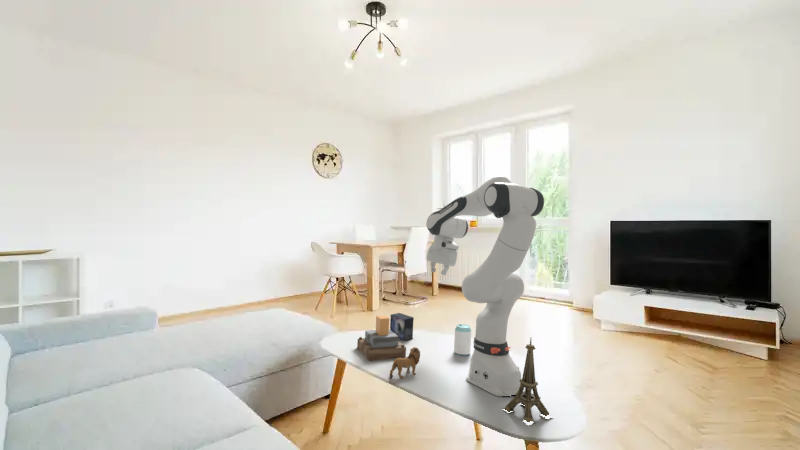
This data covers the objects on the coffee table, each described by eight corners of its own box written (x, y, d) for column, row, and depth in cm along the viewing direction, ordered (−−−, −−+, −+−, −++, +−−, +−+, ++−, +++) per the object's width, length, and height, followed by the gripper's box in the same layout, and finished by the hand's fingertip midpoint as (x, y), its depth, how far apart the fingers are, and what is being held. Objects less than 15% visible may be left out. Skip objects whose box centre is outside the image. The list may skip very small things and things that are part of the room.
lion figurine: (412, 368, 147) (413, 344, 147) (422, 372, 144) (424, 348, 144) (385, 378, 137) (386, 352, 137) (395, 382, 133) (397, 357, 133)
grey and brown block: (405, 357, 159) (406, 337, 159) (368, 360, 153) (369, 340, 153) (391, 344, 174) (392, 327, 174) (357, 347, 167) (358, 329, 167)
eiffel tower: (553, 418, 114) (557, 334, 113) (528, 426, 108) (533, 338, 108) (525, 403, 123) (529, 325, 123) (501, 409, 117) (505, 328, 117)
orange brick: (388, 334, 162) (389, 318, 162) (379, 335, 160) (380, 318, 160) (384, 331, 166) (385, 315, 166) (375, 332, 165) (376, 315, 165)
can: (454, 355, 164) (455, 327, 164) (453, 349, 171) (455, 323, 171) (470, 356, 163) (472, 328, 163) (469, 351, 170) (471, 324, 170)
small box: (388, 335, 188) (389, 314, 188) (398, 333, 192) (399, 312, 192) (403, 341, 180) (404, 318, 180) (413, 338, 185) (414, 317, 185)
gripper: (426, 241, 186) (421, 269, 185) (449, 244, 167) (443, 275, 167) (437, 243, 188) (432, 271, 188) (461, 246, 170) (456, 277, 169)
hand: (438, 273), depth 177 cm, fingers open, 8 cm apart
